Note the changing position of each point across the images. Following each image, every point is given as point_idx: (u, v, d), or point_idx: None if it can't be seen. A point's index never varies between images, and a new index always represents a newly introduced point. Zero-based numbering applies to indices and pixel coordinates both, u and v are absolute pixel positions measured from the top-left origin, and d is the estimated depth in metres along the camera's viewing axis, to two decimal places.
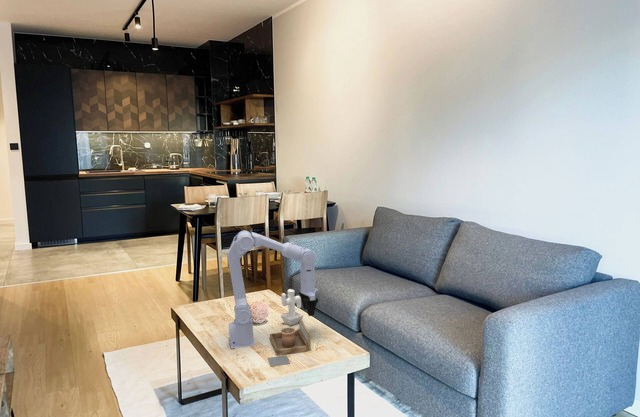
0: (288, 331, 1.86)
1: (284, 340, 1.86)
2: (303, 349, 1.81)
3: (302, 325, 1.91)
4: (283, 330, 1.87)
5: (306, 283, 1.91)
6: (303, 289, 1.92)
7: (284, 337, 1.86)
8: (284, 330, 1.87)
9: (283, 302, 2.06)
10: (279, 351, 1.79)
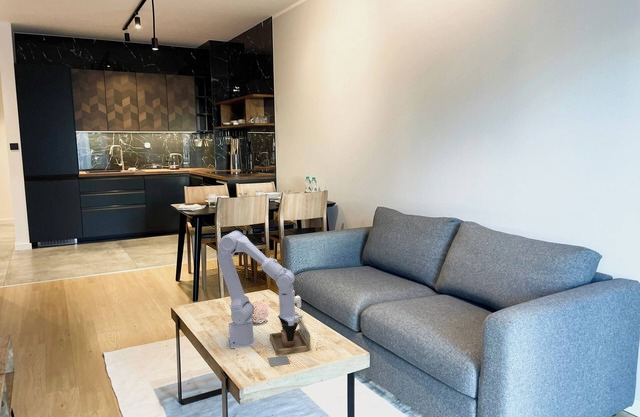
0: None
1: (284, 340, 1.86)
2: (303, 349, 1.81)
3: (302, 325, 1.91)
4: (283, 330, 1.87)
5: (285, 307, 1.83)
6: (282, 314, 1.84)
7: (284, 337, 1.86)
8: (284, 330, 1.87)
9: None
10: (279, 351, 1.79)
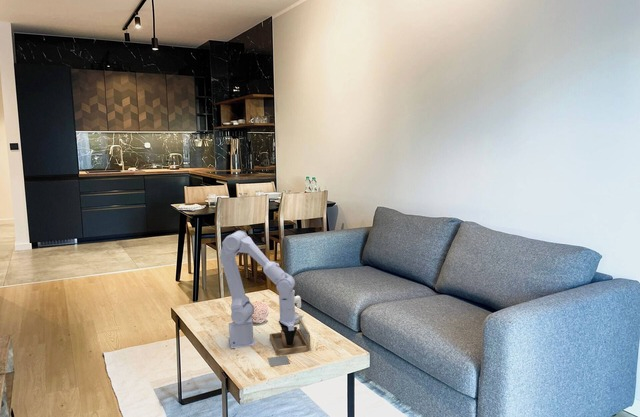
0: None
1: (284, 340, 1.86)
2: (303, 349, 1.81)
3: (302, 325, 1.91)
4: None
5: (285, 312, 1.84)
6: (282, 319, 1.85)
7: (284, 337, 1.86)
8: None
9: None
10: (279, 351, 1.79)
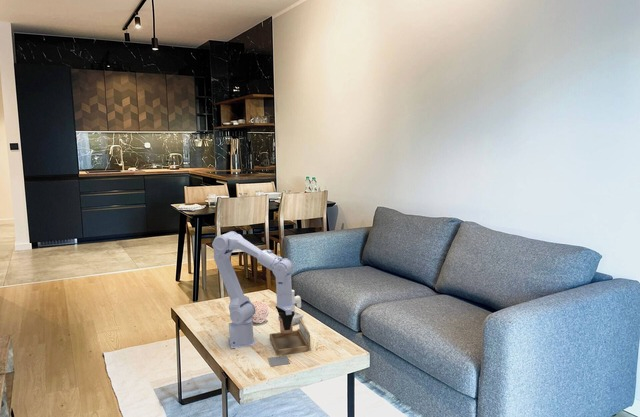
0: None
1: (282, 326, 1.82)
2: (303, 349, 1.81)
3: (302, 325, 1.91)
4: None
5: (282, 296, 1.80)
6: (279, 303, 1.81)
7: (282, 323, 1.82)
8: None
9: None
10: (279, 351, 1.79)
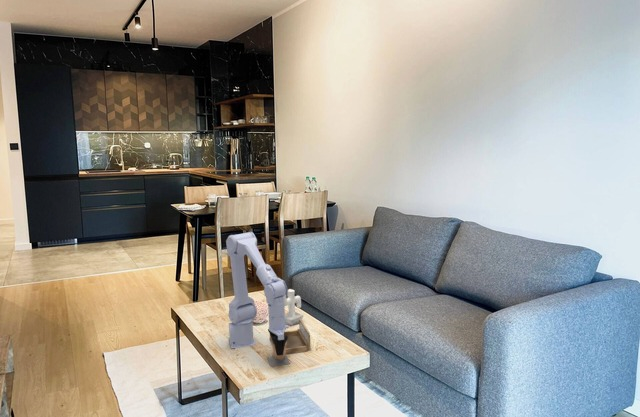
0: None
1: (275, 352, 1.73)
2: (303, 349, 1.81)
3: (302, 325, 1.91)
4: None
5: (274, 320, 1.70)
6: (271, 327, 1.71)
7: None
8: None
9: None
10: None
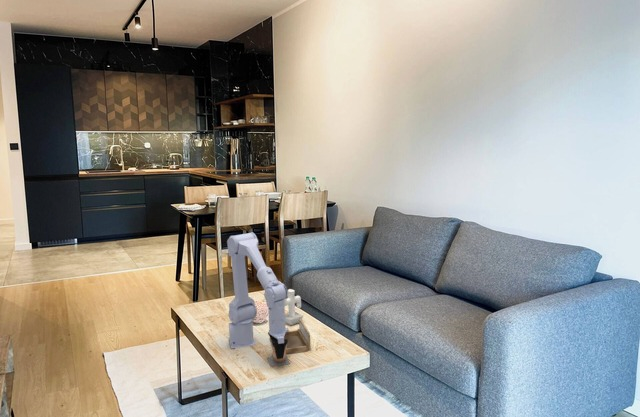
0: None
1: (275, 355, 1.73)
2: (303, 349, 1.81)
3: (302, 325, 1.91)
4: None
5: (274, 323, 1.70)
6: (271, 330, 1.71)
7: None
8: None
9: None
10: None
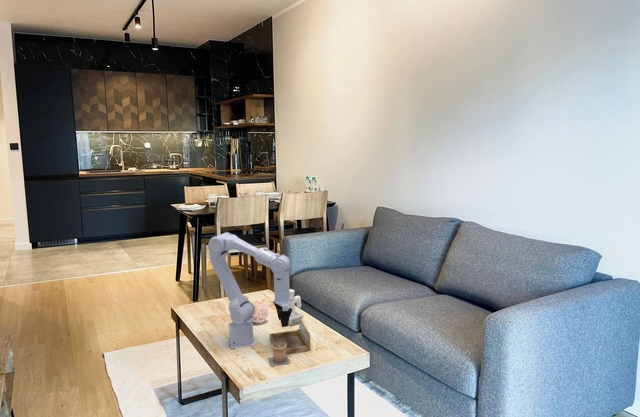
0: (279, 345, 1.73)
1: (275, 355, 1.73)
2: (303, 349, 1.81)
3: (302, 325, 1.91)
4: (274, 344, 1.74)
5: (279, 292, 1.81)
6: (276, 299, 1.82)
7: (275, 352, 1.73)
8: (275, 344, 1.74)
9: None
10: None
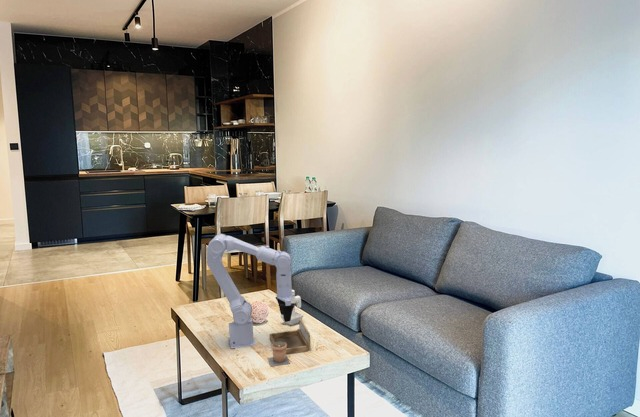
0: (279, 345, 1.73)
1: (275, 355, 1.73)
2: (303, 349, 1.81)
3: (302, 325, 1.91)
4: (274, 344, 1.74)
5: (282, 288, 1.86)
6: (279, 294, 1.87)
7: (275, 352, 1.73)
8: (275, 344, 1.74)
9: None
10: None
